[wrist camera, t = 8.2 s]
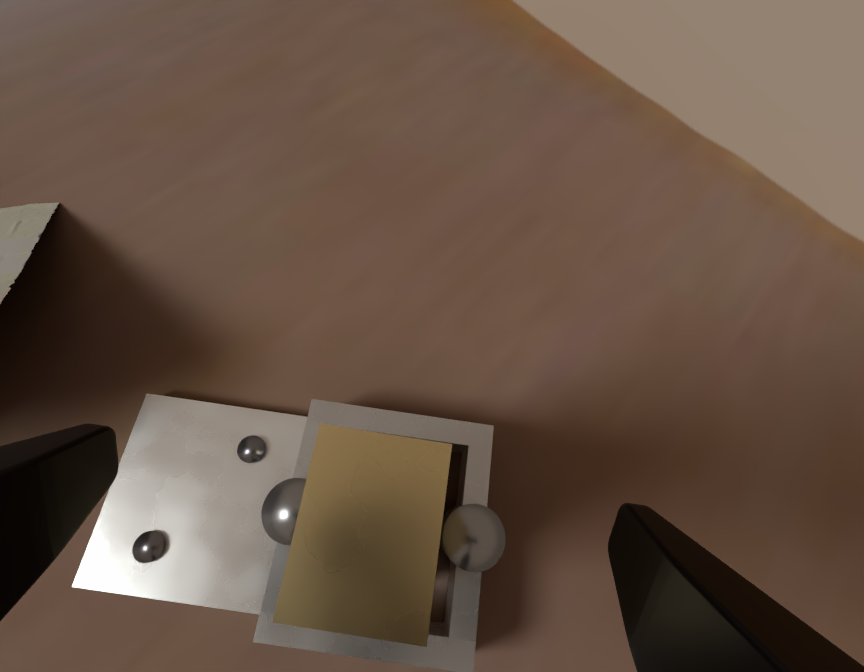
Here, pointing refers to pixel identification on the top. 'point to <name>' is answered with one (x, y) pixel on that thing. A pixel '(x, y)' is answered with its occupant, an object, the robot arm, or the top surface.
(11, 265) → the pale grey slotted block
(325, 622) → the tan rectangular pillar
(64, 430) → the robot arm
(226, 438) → the hinge base
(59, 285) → the top surface
